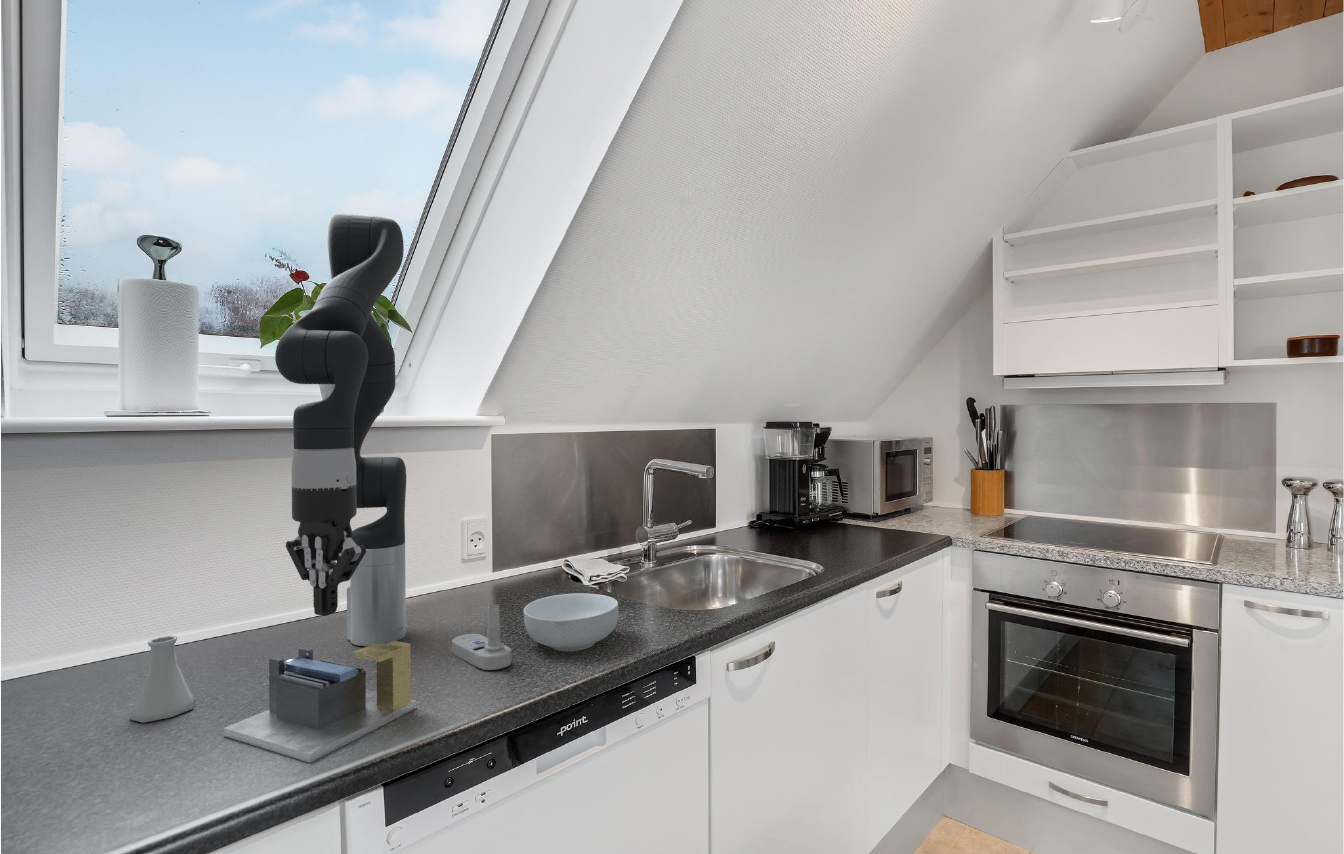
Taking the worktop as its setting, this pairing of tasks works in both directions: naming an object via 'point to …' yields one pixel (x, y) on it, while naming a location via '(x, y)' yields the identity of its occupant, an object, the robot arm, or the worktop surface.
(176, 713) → the flask
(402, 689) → the block
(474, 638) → the electronic device
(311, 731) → the clip base
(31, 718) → the worktop surface
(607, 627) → the cereal bowl
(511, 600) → the worktop surface
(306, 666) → the blue bar
